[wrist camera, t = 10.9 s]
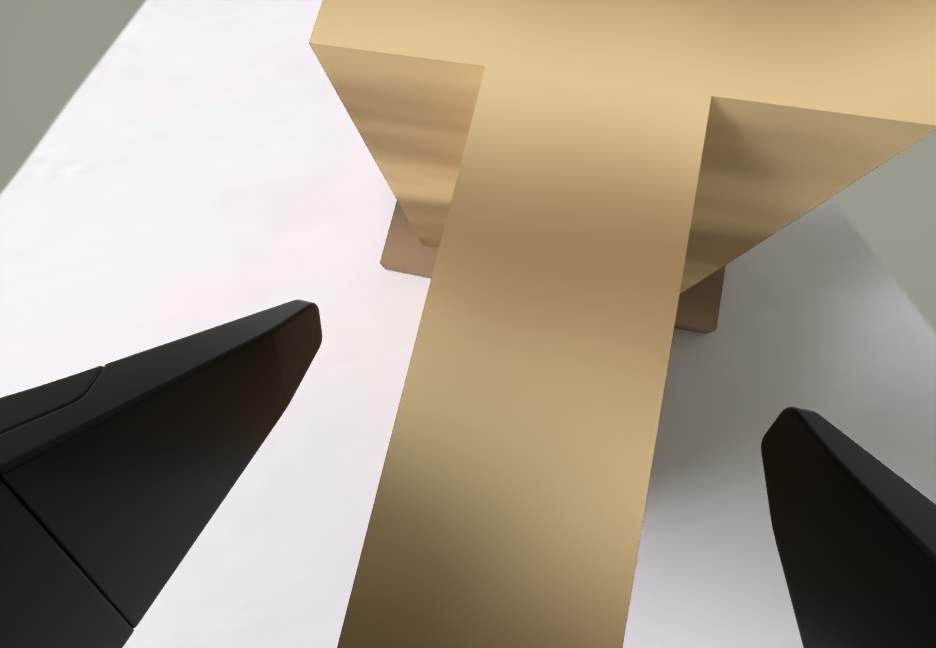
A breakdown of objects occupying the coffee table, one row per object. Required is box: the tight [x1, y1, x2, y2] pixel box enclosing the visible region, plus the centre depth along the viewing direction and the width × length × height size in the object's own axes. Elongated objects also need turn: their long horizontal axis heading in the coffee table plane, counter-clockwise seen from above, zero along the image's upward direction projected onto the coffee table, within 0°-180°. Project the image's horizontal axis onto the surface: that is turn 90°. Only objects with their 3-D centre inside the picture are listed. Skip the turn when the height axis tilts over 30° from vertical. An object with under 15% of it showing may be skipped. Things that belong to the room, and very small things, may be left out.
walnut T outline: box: [380, 201, 725, 333], centre depth 17 cm, size 14×13×1 cm
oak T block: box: [309, 0, 936, 648], centre depth 11 cm, size 12×10×10 cm
